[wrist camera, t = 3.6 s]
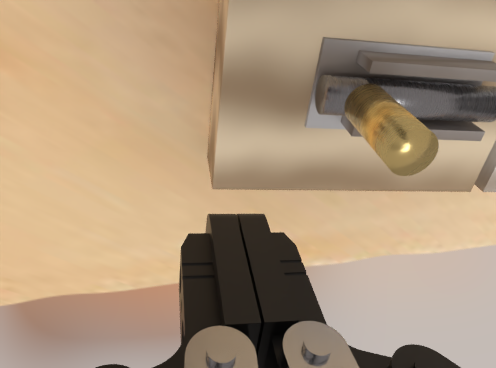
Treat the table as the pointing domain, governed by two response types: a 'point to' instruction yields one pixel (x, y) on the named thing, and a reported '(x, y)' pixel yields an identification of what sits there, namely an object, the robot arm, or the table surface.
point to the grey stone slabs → (352, 65)
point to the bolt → (402, 114)
